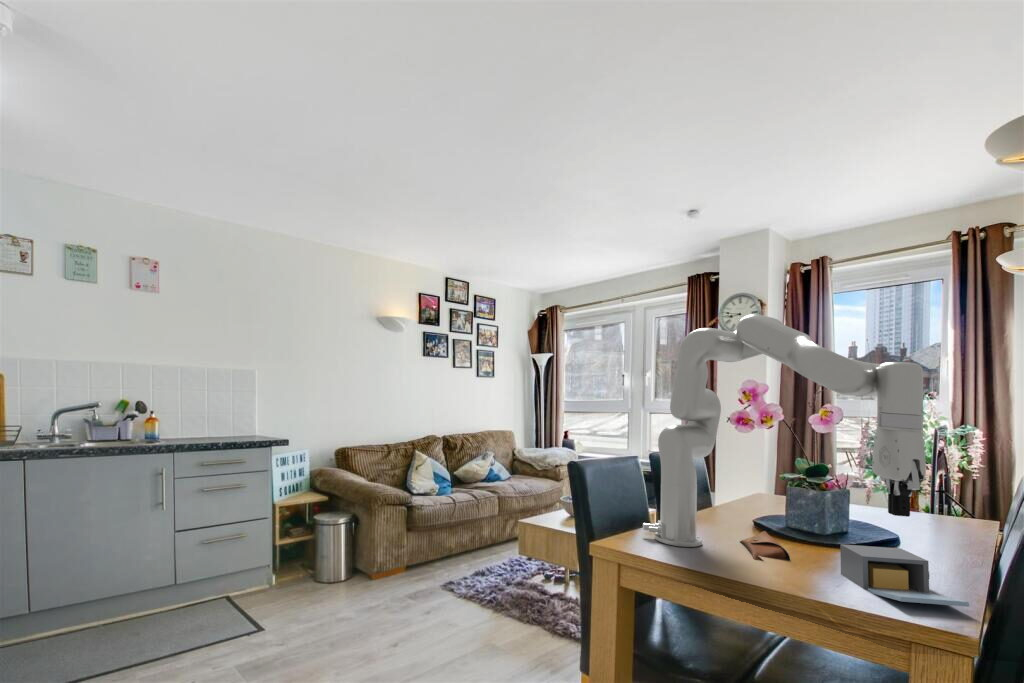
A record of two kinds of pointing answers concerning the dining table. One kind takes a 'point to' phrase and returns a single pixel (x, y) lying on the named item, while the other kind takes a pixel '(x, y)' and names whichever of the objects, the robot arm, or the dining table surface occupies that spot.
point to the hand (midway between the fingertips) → (898, 514)
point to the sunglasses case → (765, 547)
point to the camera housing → (884, 567)
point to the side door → (918, 597)
